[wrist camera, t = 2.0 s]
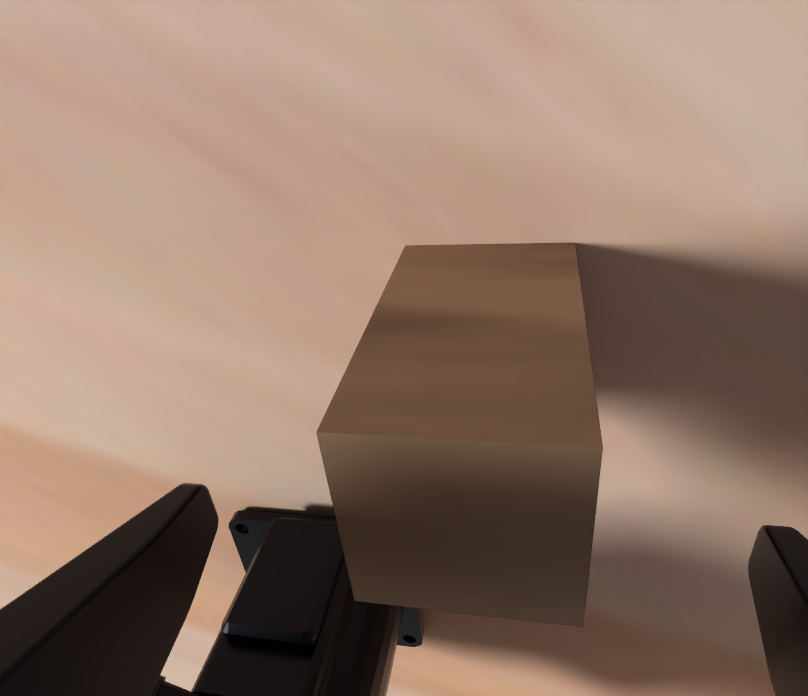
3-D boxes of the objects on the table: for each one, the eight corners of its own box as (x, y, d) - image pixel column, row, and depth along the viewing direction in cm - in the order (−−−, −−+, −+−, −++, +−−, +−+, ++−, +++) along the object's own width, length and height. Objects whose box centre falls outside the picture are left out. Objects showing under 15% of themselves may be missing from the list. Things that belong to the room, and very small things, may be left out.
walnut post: (566, 383, 16) (583, 627, 10) (418, 378, 16) (354, 600, 11) (574, 242, 14) (602, 447, 8) (405, 245, 14) (316, 431, 9)
